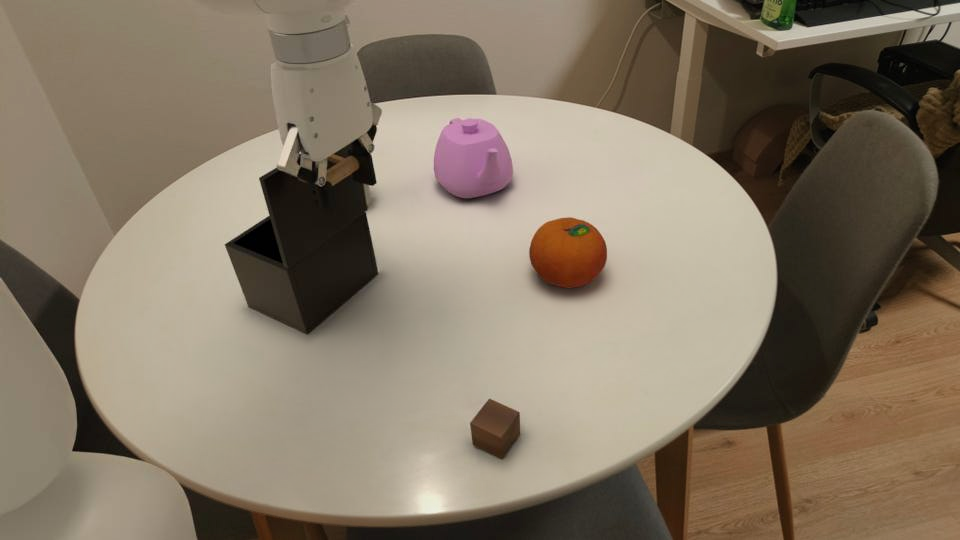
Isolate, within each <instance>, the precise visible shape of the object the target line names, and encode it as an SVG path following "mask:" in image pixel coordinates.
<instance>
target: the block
mask: <svg viewBox="0 0 960 540" xmlns="http://www.w3.org/2000/svg"><path fill="white" fill-rule="evenodd" d="M469 427H470V435H471V436H470V437H471V443H472V446H473V447H475V448H477V449H479V450H481V451H483V452H485V453H487V454H489V455H491V456H493V457H495V458H497V459H499V460H501V461H504V459H505V458H506V456H507V455H508V453H509V452H510V451H511V449H512V447H513V446H514V445H515V443H516V442H517V440H518V439H519V437H520V436H521V413H520V411H518V410H516V409H514V408H512V407H509V406H508V405H505V404H503V403H501V402H498V401H496V400H494V399H492V398H488V399H487V401H486V402H485V403H484V404H483V405H482V406H481V408H480V409H479V411H478V412H477V413H476V414H475V416H474V417H473V418H472V420H471V421H470V423H469Z"/></svg>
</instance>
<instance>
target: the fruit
mask: <svg viewBox="0 0 960 540" xmlns="http://www.w3.org/2000/svg"><path fill="white" fill-rule="evenodd" d="M528 255H529V261H530V264H531V266H532V268H533V269H534V271H535V273H536V274H537V276H538V277H540V279H542V280H543V281H544V282H546V283H548V284H550V285H554V286H558V287H562V288H568V289H573V288H576V287H582V286H584V285H586V284H588V283H591V282H592V281H594V280H595V279H596V278H597V277H598V276H599V275H600V274H601V272H602V271H603V269H604V268H605V267H606V265H607V260H608V247H607V244H606V241H605V239H604V237H603V235H602V233H600V231H599V229H598V228H597V227H595V226H594V225H593V224H591V223H590V222H587V221H585V220H583V219H579V218H575V217H570V216H569V217H561V218H556V219H552V220H549V221H547V222H545V223H543V224H542V225H541V226H540V227H539V228H538V229H537V230H536V232H535V233H534V235H533V237H532V239H531V241H530V246H529V250H528Z"/></svg>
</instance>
